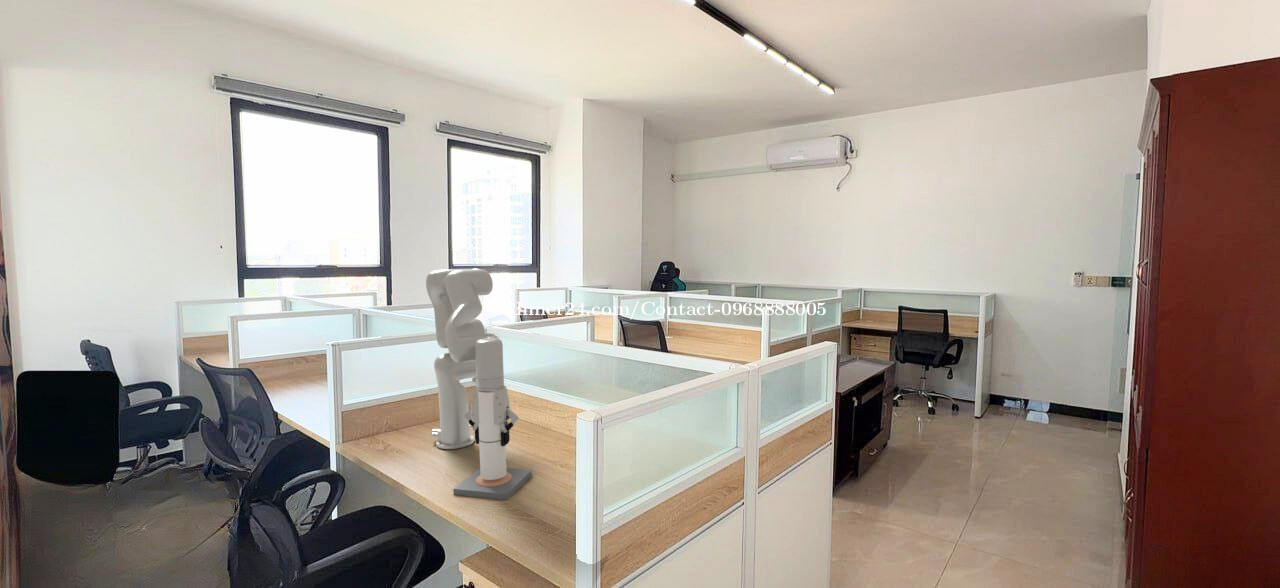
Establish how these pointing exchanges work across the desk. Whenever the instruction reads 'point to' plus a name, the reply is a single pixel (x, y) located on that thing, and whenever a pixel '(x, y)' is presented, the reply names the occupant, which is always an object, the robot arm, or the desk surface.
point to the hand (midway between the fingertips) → (492, 443)
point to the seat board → (493, 484)
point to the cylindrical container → (490, 440)
